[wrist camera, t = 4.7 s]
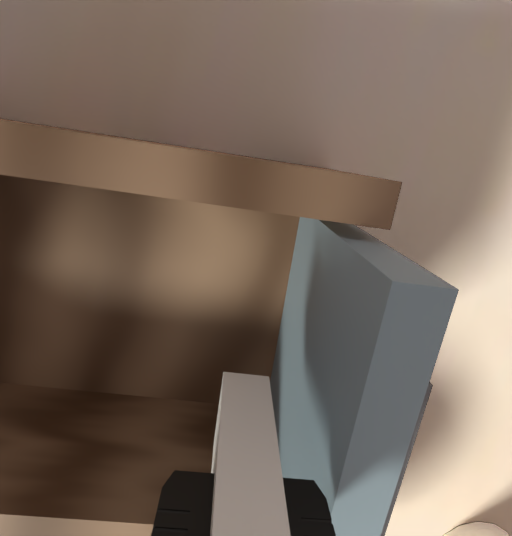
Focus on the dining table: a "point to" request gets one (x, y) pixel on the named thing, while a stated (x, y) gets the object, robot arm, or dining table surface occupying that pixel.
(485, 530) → the foam cup
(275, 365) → the blue gray square panel
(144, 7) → the dining table surface
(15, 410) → the crate
